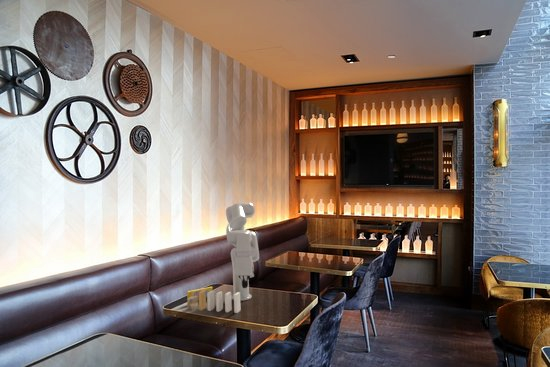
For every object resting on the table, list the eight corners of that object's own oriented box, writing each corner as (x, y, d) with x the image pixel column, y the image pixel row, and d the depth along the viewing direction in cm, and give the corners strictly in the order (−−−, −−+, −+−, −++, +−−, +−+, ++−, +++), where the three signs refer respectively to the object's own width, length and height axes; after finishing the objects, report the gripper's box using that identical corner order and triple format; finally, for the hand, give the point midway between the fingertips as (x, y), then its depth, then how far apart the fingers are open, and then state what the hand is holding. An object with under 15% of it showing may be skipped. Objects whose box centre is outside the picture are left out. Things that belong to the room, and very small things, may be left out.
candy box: (188, 305, 233) (188, 292, 233) (187, 305, 235) (186, 291, 235) (213, 300, 243) (212, 286, 243) (211, 299, 244) (211, 286, 244)
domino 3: (216, 311, 221) (215, 293, 221) (220, 308, 226) (219, 291, 225) (219, 311, 220) (218, 293, 220) (223, 308, 225) (222, 291, 225)
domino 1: (199, 310, 224) (198, 292, 224) (203, 307, 229) (203, 290, 229) (201, 310, 224) (201, 292, 224) (206, 307, 229) (205, 290, 229)
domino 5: (234, 312, 217) (233, 294, 217) (238, 309, 222) (237, 292, 222) (237, 313, 217) (236, 294, 217) (240, 310, 221) (240, 292, 221)
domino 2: (207, 310, 223) (207, 293, 222) (211, 307, 227) (211, 290, 227) (210, 310, 222) (209, 293, 222) (214, 308, 227) (213, 290, 227)
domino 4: (225, 312, 219) (224, 294, 219) (229, 309, 224) (228, 291, 224) (228, 312, 218) (227, 294, 218) (231, 309, 223) (231, 291, 223)
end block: (187, 309, 226) (187, 299, 226) (193, 306, 232) (192, 296, 232) (192, 309, 225) (192, 299, 225) (197, 306, 231) (197, 296, 231)
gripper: (228, 255, 216) (229, 288, 216) (253, 255, 211) (255, 289, 211) (234, 253, 223) (235, 285, 223) (258, 253, 219) (260, 286, 218)
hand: (245, 287), depth 217 cm, fingers closed
